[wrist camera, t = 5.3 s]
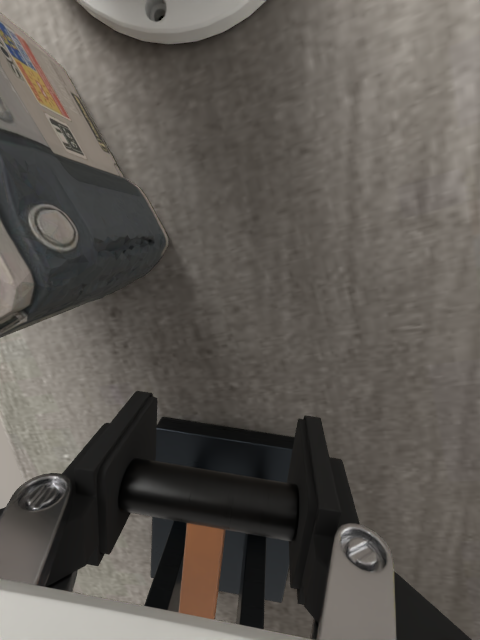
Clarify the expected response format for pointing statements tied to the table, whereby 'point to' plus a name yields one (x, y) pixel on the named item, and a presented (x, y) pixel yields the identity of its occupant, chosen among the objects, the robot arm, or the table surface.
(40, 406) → the table surface
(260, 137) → the table surface
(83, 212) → the camera
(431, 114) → the table surface
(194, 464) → the bracket
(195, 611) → the lever
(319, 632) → the robot arm
